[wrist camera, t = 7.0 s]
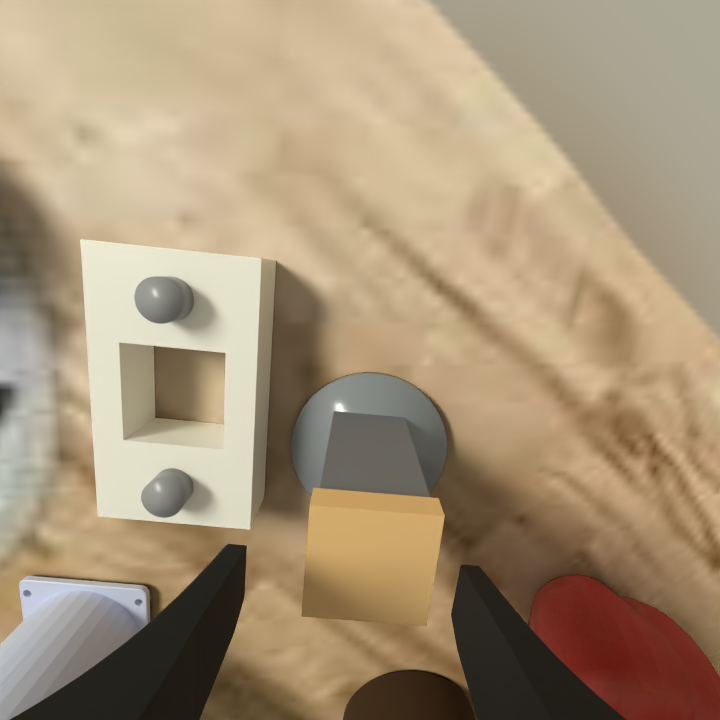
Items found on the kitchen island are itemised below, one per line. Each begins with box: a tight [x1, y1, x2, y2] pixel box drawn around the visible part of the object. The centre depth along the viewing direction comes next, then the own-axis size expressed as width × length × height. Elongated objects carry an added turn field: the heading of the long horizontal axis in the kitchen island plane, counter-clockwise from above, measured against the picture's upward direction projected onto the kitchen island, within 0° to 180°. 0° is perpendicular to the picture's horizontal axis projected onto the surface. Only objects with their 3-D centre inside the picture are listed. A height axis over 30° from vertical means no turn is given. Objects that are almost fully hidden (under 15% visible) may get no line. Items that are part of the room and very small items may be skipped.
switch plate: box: [80, 239, 276, 530], centre depth 19 cm, size 14×8×4 cm, turn 174°
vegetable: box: [528, 574, 720, 720], centre depth 20 cm, size 11×10×10 cm
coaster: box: [291, 372, 447, 496], centre depth 22 cm, size 9×9×1 cm
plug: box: [302, 411, 445, 626], centre depth 17 cm, size 4×4×9 cm
